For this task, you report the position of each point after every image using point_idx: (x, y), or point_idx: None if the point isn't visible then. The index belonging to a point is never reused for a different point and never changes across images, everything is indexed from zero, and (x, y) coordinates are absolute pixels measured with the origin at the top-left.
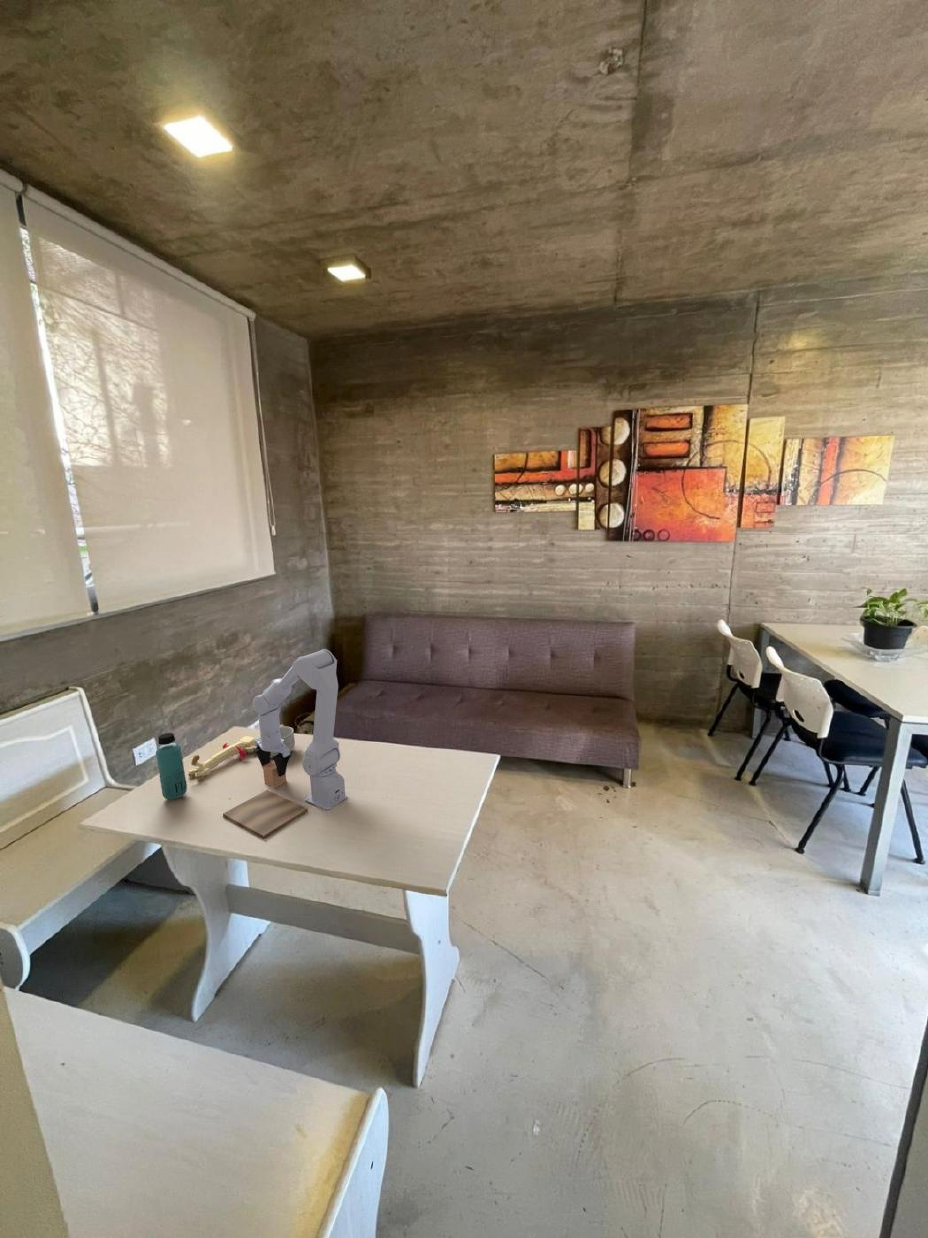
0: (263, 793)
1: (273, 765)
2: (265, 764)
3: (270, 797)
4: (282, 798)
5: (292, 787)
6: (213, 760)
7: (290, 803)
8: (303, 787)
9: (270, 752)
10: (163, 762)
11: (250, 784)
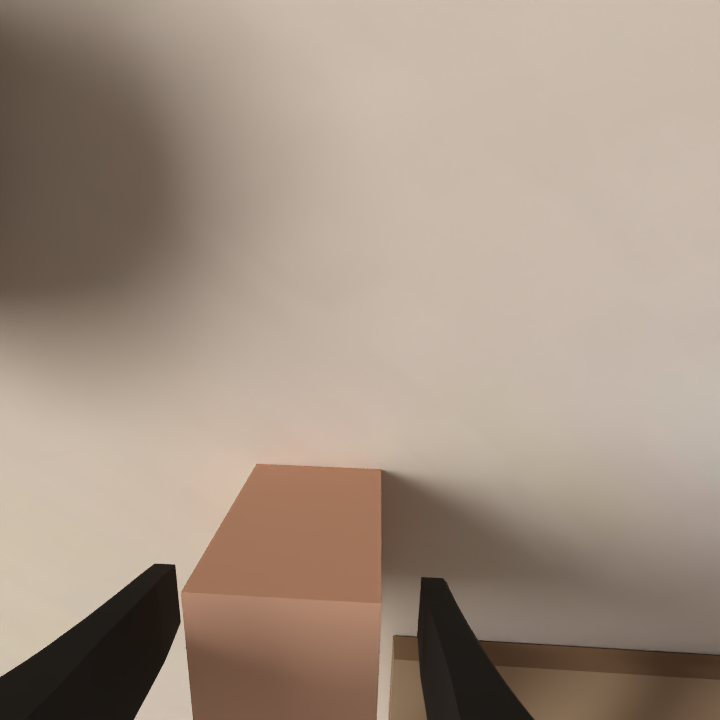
0: (412, 698)
1: (293, 690)
2: (149, 656)
3: None
4: (604, 685)
5: (507, 508)
6: None
7: (715, 700)
8: (596, 467)
9: (35, 714)
10: None
11: None
